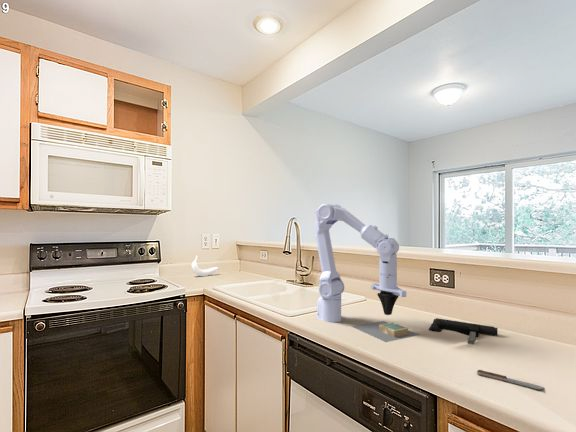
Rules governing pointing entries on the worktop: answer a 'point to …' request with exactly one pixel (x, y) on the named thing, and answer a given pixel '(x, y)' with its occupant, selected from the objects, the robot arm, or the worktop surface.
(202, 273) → the banana
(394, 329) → the wooden block
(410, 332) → the mat
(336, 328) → the worktop surface
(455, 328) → the black toy gun
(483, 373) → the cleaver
